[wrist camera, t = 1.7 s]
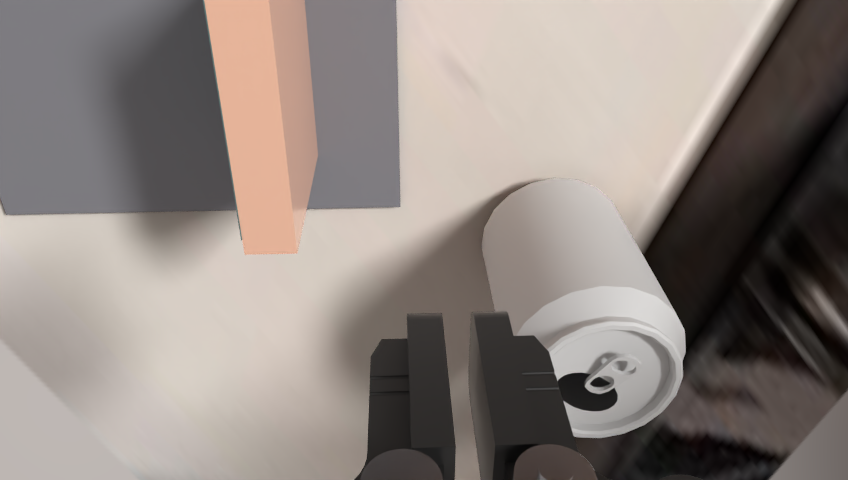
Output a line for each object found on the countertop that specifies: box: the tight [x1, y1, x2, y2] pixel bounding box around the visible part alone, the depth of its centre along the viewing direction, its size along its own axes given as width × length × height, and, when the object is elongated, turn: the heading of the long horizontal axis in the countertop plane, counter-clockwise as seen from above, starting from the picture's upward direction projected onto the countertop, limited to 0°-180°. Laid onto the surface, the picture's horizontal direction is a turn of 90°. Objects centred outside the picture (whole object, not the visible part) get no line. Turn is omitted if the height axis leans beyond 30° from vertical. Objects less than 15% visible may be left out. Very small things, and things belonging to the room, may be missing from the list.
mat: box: [0, 0, 400, 215], centre depth 31 cm, size 20×16×1 cm
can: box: [481, 178, 686, 438], centre depth 33 cm, size 8×8×12 cm
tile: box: [203, 0, 318, 255], centre depth 28 cm, size 2×10×9 cm, turn 0°
